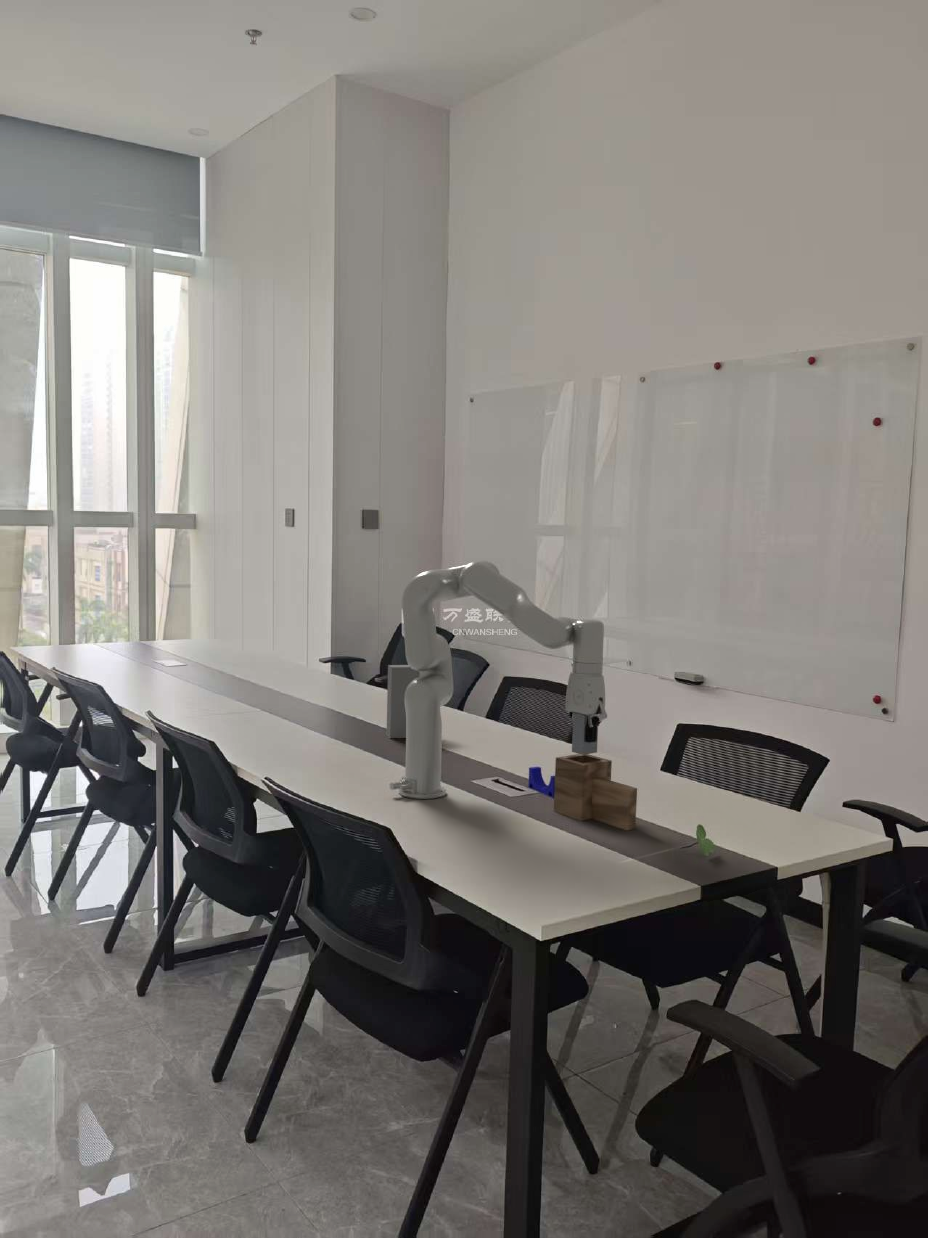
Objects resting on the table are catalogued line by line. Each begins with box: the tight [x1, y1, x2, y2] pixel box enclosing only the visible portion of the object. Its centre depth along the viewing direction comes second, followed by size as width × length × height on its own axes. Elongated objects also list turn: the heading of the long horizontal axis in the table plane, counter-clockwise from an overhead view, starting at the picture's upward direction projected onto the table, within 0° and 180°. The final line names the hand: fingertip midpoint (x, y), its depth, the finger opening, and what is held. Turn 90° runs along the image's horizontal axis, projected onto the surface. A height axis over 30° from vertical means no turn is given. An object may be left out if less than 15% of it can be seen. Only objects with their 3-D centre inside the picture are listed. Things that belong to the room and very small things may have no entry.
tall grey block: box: [385, 664, 420, 739], centre depth 345 cm, size 14×6×25 cm, turn 108°
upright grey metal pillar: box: [571, 712, 599, 755], centre depth 260 cm, size 5×4×11 cm
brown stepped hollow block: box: [553, 753, 638, 831], centre depth 257 cm, size 10×22×14 cm, turn 38°
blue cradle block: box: [528, 766, 555, 799], centre depth 282 cm, size 12×4×6 cm, turn 30°
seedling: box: [679, 824, 716, 857], centre depth 233 cm, size 7×8×7 cm
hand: (584, 739), depth 260 cm, fingers closed on upright grey metal pillar, 4 cm apart
